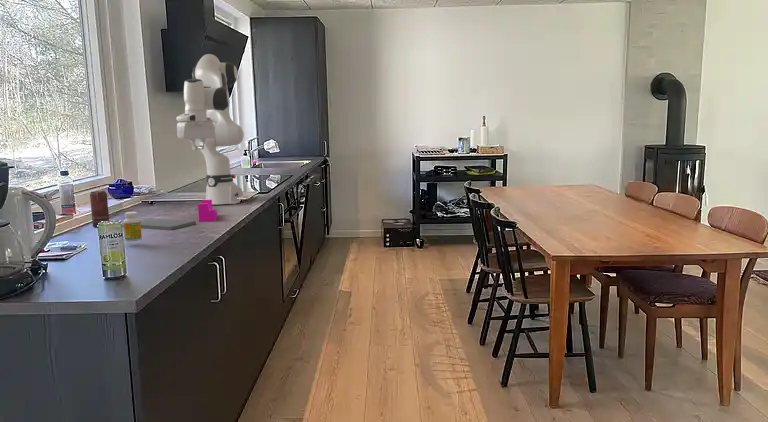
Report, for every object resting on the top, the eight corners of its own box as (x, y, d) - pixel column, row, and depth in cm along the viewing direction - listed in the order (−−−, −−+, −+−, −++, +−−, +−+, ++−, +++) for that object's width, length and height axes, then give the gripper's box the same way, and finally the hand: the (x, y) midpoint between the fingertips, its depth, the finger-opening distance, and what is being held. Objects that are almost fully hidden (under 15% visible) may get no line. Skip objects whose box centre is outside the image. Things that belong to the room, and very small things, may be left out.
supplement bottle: (131, 242, 197) (129, 214, 196) (121, 240, 200) (119, 213, 198) (145, 239, 201) (142, 212, 200) (135, 238, 204) (133, 211, 203)
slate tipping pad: (150, 221, 242) (150, 218, 241) (195, 224, 232) (195, 221, 232) (123, 226, 229) (123, 223, 229) (170, 229, 220) (170, 226, 219)
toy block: (214, 221, 239) (213, 203, 238) (199, 222, 238) (197, 204, 237) (218, 216, 254) (217, 199, 253) (204, 216, 253) (202, 199, 252)
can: (92, 228, 227) (89, 192, 225) (92, 225, 232) (89, 191, 230) (109, 226, 229) (106, 191, 227) (109, 224, 235) (106, 190, 233)
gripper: (206, 117, 258) (208, 148, 260) (173, 117, 239) (175, 150, 241) (217, 117, 255) (219, 148, 257) (185, 117, 237) (187, 150, 239)
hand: (198, 149), depth 249 cm, fingers open, 3 cm apart
